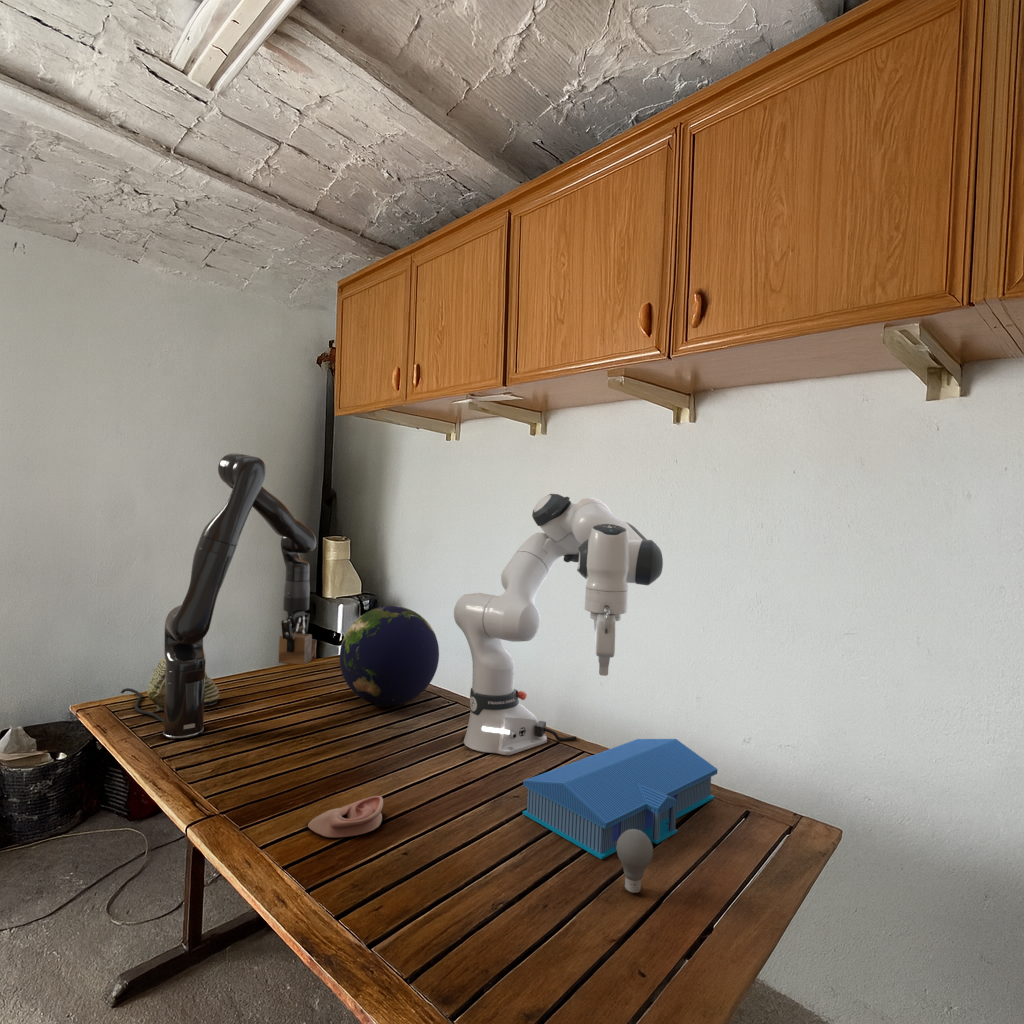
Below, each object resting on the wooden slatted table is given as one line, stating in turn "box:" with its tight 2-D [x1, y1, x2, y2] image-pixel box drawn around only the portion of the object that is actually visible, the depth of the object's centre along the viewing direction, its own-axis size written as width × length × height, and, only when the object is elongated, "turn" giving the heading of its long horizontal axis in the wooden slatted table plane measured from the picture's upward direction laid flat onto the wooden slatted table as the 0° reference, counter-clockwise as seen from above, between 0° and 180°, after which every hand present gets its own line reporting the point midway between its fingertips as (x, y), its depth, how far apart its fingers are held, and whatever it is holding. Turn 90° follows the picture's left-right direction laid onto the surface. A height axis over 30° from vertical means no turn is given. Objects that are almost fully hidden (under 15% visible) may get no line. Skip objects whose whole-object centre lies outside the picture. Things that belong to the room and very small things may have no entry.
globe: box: [339, 605, 440, 707], centre depth 194 cm, size 30×30×30 cm
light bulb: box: [616, 829, 654, 894], centre depth 106 cm, size 6×6×10 cm
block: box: [278, 632, 313, 666], centre depth 195 cm, size 5×8×8 cm, turn 82°
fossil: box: [147, 656, 221, 712], centre depth 185 cm, size 9×18×15 cm, turn 132°
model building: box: [522, 738, 718, 860], centre depth 134 cm, size 39×24×10 cm, turn 132°
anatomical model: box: [307, 795, 384, 839], centre depth 123 cm, size 13×4×12 cm
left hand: (294, 649), depth 195 cm, fingers closed on block, 5 cm apart
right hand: (602, 668), depth 132 cm, fingers open, 8 cm apart
